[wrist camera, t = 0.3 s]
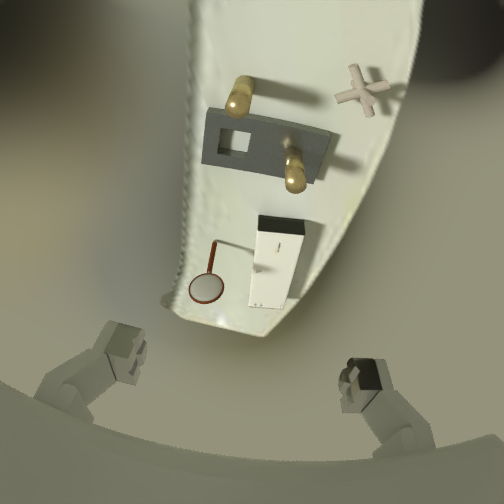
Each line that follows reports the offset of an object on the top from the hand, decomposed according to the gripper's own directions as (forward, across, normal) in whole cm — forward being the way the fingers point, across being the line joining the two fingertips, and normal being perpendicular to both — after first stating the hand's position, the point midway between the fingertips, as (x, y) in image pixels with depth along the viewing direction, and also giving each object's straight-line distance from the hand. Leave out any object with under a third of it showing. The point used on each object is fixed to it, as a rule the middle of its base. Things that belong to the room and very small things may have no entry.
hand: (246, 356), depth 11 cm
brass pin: (+51, +6, -8) cm, 52 cm away
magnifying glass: (+63, +9, +33) cm, 72 cm away
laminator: (+66, -8, +38) cm, 76 cm away
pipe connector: (+50, -15, -13) cm, 54 cm away
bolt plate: (+54, 0, +3) cm, 54 cm away
